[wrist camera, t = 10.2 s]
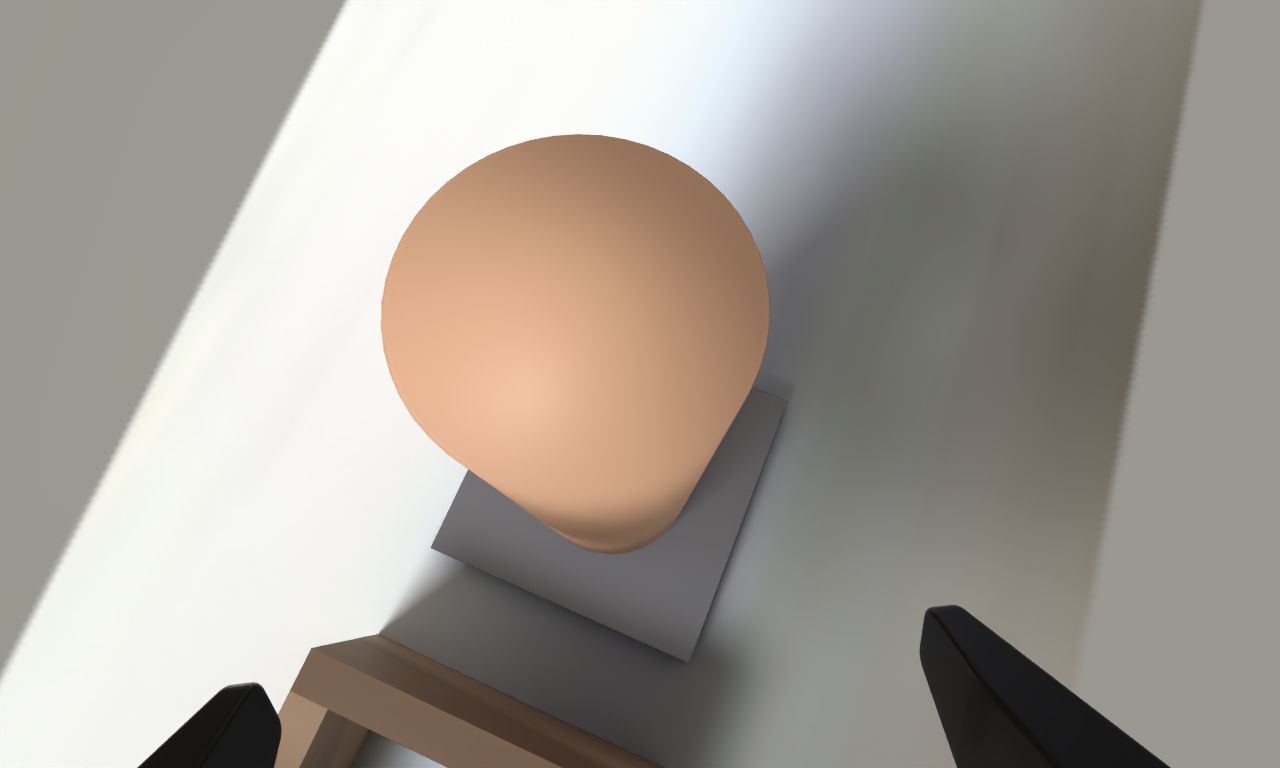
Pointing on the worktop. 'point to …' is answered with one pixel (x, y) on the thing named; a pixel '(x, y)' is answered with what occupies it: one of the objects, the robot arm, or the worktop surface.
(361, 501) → the worktop surface
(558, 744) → the socket block
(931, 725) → the worktop surface
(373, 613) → the worktop surface
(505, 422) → the peg
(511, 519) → the mat
